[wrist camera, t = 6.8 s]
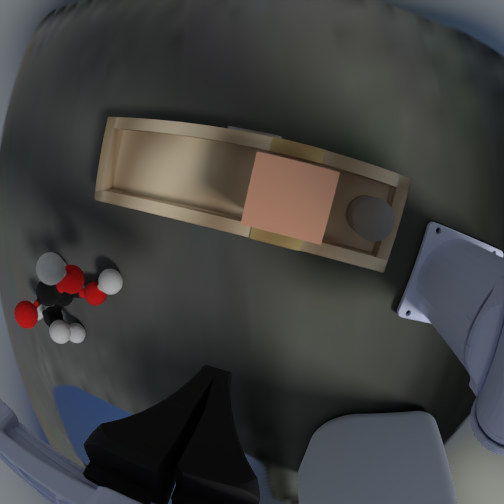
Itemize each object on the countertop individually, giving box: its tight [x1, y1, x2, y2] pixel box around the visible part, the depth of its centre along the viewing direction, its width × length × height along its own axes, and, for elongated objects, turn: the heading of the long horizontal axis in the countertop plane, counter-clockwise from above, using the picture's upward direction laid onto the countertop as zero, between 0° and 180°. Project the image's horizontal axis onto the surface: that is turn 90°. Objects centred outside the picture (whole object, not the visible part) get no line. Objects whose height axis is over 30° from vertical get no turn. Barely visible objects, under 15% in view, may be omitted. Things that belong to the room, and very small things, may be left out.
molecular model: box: [14, 252, 123, 344], centre depth 20 cm, size 16×8×10 cm, turn 137°
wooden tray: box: [94, 117, 411, 273], centre depth 17 cm, size 20×7×5 cm, turn 77°
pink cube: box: [241, 152, 340, 245], centre depth 15 cm, size 4×4×4 cm
